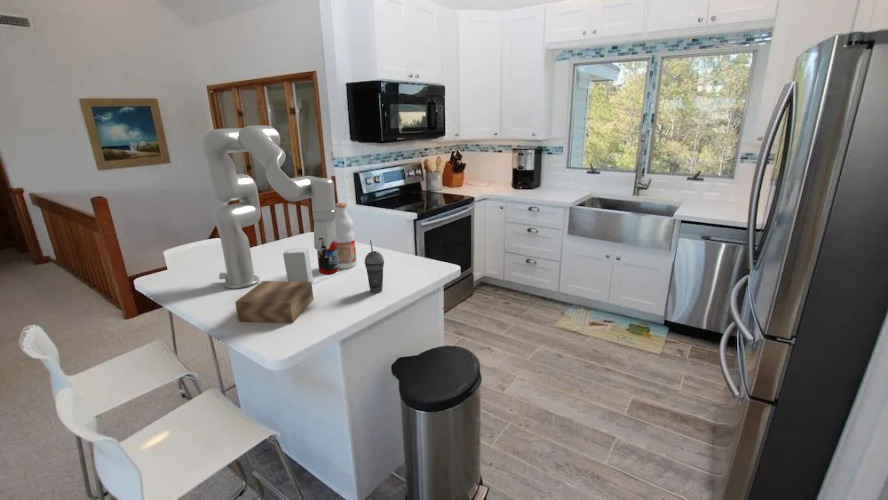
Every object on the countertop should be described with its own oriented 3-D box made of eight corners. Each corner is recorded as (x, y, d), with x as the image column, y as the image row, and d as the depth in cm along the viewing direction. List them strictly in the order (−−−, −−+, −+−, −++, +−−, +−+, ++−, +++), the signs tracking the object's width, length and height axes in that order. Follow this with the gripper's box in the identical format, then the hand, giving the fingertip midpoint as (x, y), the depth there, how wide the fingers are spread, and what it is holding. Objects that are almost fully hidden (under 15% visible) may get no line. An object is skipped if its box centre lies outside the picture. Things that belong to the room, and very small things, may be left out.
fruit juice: (331, 265, 184) (325, 204, 176) (349, 261, 190) (344, 201, 182) (342, 270, 177) (336, 207, 169) (360, 265, 184) (356, 203, 175)
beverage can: (333, 276, 143) (331, 243, 139) (315, 275, 144) (312, 242, 140) (341, 270, 149) (339, 238, 145) (324, 268, 150) (322, 237, 147)
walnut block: (238, 321, 133) (235, 301, 131) (265, 299, 150) (262, 281, 148) (292, 322, 131) (290, 302, 129) (313, 299, 149) (311, 281, 146)
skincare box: (313, 282, 165) (309, 247, 160) (309, 288, 159) (305, 251, 154) (292, 283, 164) (287, 247, 160) (287, 289, 159) (282, 252, 154)
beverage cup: (377, 296, 151) (373, 243, 145) (362, 292, 155) (358, 241, 149) (389, 289, 157) (387, 239, 151) (375, 285, 161) (372, 236, 155)
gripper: (322, 209, 148) (326, 256, 154) (303, 220, 132) (308, 272, 137) (342, 210, 148) (345, 256, 153) (326, 221, 131) (330, 273, 137)
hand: (328, 264), depth 145 cm, fingers closed on beverage can, 6 cm apart
